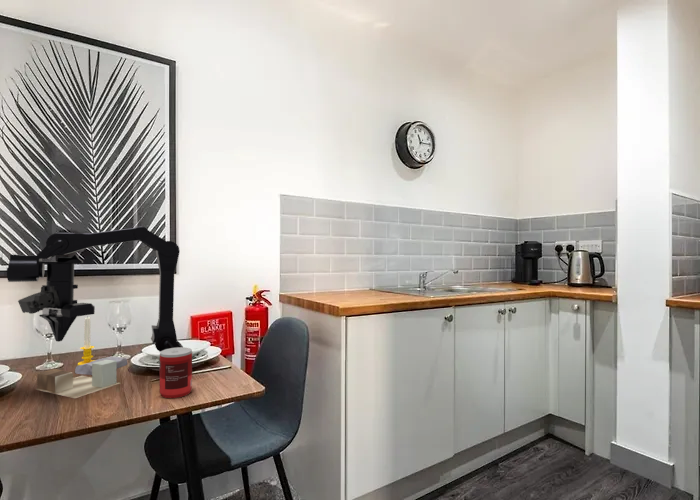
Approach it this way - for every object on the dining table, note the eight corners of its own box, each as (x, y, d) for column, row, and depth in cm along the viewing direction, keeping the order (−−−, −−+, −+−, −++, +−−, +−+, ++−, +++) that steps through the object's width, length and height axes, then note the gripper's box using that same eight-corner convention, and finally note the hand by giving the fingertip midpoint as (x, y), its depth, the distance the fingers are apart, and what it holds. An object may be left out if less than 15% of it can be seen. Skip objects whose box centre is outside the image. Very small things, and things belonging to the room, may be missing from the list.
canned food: (178, 386, 106) (178, 345, 106) (198, 391, 102) (198, 349, 102) (152, 395, 99) (152, 352, 99) (173, 401, 96) (173, 356, 96)
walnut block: (73, 372, 102) (53, 368, 105) (56, 377, 98) (37, 373, 102) (72, 387, 102) (53, 383, 105) (56, 392, 98) (37, 388, 102)
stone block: (71, 383, 114) (100, 378, 112) (68, 366, 114) (97, 361, 112) (103, 372, 125) (130, 367, 124) (101, 357, 126) (128, 352, 124)
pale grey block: (116, 383, 106) (116, 361, 106) (102, 387, 102) (102, 365, 102) (106, 381, 107) (106, 359, 107) (91, 385, 104) (92, 363, 104)
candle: (82, 367, 123) (82, 318, 123) (74, 364, 126) (74, 316, 126) (100, 363, 127) (100, 315, 127) (92, 360, 130) (92, 314, 130)
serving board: (120, 385, 106) (120, 382, 106) (74, 401, 95) (74, 398, 95) (82, 378, 112) (82, 375, 112) (35, 392, 101) (35, 389, 101)
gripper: (1, 281, 97) (0, 344, 97) (50, 284, 90) (48, 352, 90) (50, 279, 107) (48, 335, 107) (96, 281, 100) (95, 342, 100)
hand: (59, 341), depth 101 cm, fingers closed
